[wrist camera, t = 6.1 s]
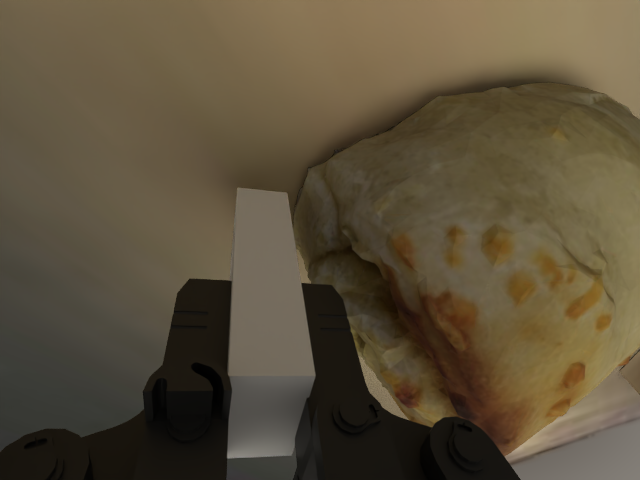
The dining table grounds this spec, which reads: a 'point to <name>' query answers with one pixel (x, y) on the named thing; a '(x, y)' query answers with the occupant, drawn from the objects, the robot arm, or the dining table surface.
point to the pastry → (486, 252)
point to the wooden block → (633, 372)
